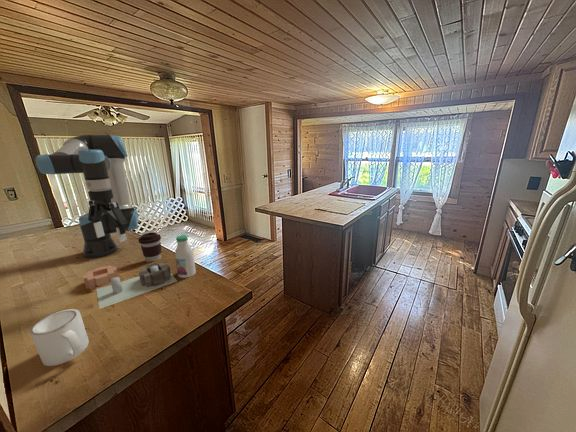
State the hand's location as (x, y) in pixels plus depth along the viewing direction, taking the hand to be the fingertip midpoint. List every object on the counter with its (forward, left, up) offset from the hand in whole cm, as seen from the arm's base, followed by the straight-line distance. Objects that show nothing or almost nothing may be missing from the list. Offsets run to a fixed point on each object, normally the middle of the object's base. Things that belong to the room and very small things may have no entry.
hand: (111, 238), depth 98 cm
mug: (+35, -18, -21) cm, 44 cm away
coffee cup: (-11, +15, -21) cm, 28 cm away
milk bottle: (+16, +23, -21) cm, 35 cm away
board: (+12, +4, -20) cm, 24 cm away
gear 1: (-4, -7, -20) cm, 22 cm away
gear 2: (+12, +11, -19) cm, 25 cm away
